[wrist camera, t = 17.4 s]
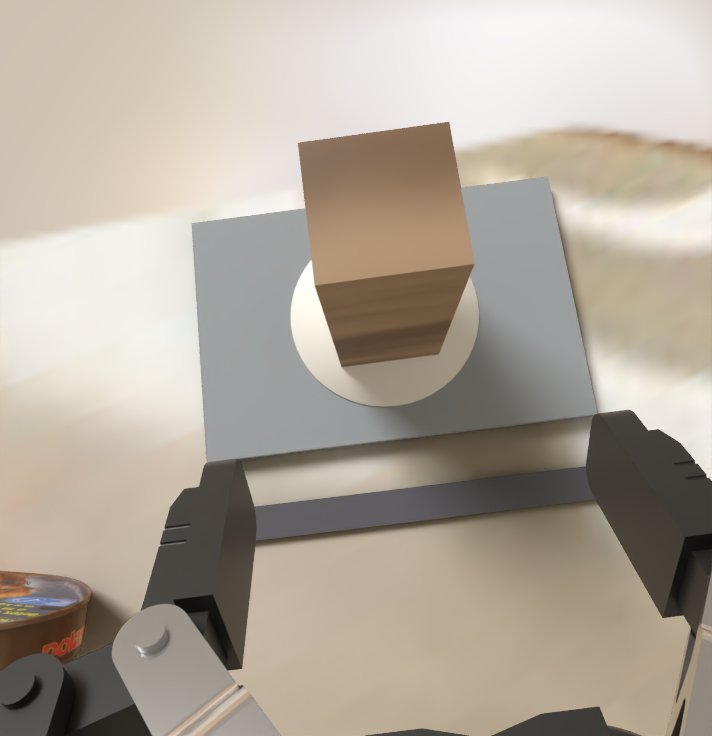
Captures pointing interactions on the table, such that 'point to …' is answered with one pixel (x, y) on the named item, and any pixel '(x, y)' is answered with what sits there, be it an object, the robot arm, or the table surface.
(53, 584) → the tin
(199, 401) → the table surface
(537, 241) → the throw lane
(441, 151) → the square wooden post
